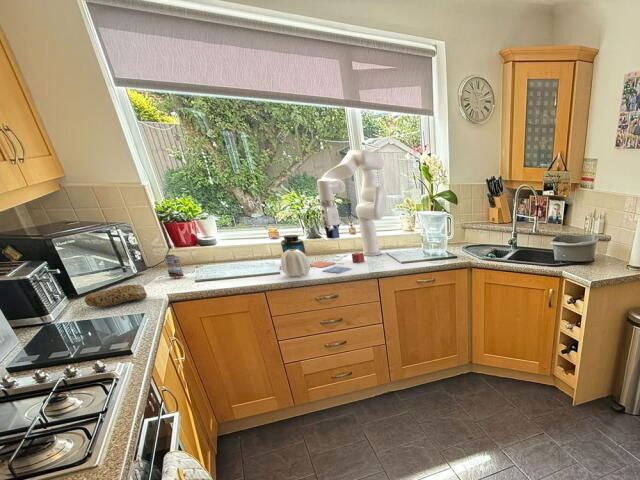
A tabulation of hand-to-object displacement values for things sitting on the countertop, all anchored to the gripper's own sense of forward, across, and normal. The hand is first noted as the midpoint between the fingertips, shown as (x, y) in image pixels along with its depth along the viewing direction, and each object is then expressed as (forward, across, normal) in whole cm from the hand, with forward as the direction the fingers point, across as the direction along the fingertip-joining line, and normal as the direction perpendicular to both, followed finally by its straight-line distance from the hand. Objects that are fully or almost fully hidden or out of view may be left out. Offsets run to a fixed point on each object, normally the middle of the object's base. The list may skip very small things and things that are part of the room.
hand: (333, 237), depth 241 cm
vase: (+17, -29, +3) cm, 33 cm away
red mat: (+16, -5, +8) cm, 19 cm away
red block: (+16, +11, -6) cm, 20 cm away
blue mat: (+16, -12, -9) cm, 22 cm away
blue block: (0, 0, 0) cm, 0 cm away
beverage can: (+17, -58, +54) cm, 81 cm away
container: (+16, -9, +22) cm, 29 cm away
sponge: (+18, -96, +36) cm, 104 cm away
